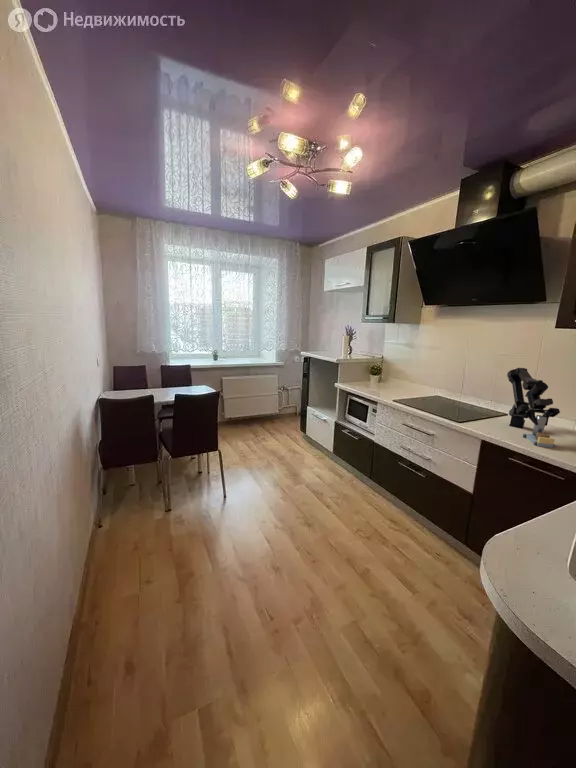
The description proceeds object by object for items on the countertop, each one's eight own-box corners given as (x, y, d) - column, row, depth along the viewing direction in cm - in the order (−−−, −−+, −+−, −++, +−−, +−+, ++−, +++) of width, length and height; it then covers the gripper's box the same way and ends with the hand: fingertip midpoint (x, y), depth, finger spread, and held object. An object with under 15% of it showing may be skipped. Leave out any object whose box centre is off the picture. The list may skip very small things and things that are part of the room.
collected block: (535, 439, 169) (537, 432, 168) (543, 440, 168) (545, 432, 168) (539, 441, 165) (541, 434, 164) (548, 442, 165) (550, 435, 164)
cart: (521, 436, 178) (523, 428, 177) (539, 438, 176) (541, 429, 175) (535, 445, 164) (537, 437, 163) (554, 448, 163) (556, 439, 162)
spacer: (533, 436, 170) (537, 416, 168) (531, 433, 174) (535, 414, 172) (543, 437, 168) (547, 418, 166) (541, 435, 172) (545, 416, 170)
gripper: (523, 390, 172) (529, 416, 163) (562, 394, 168) (570, 420, 160) (513, 401, 181) (518, 425, 173) (550, 404, 177) (557, 429, 169)
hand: (541, 425), depth 168 cm, fingers closed on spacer, 4 cm apart
